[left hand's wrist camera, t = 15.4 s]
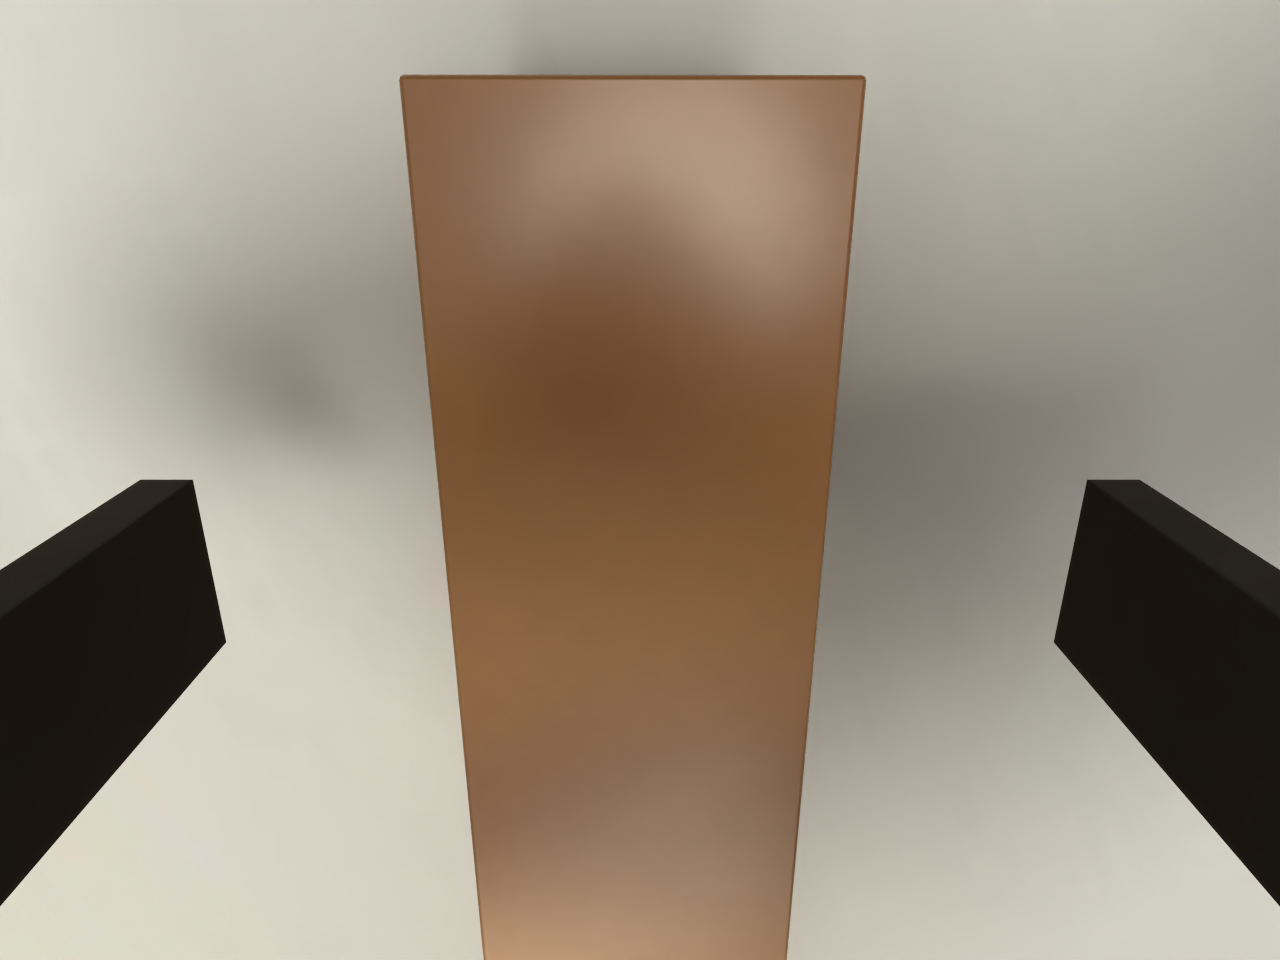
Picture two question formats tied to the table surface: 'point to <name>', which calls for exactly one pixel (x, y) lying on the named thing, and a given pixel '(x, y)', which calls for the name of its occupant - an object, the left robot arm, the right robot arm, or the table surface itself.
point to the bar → (633, 485)
